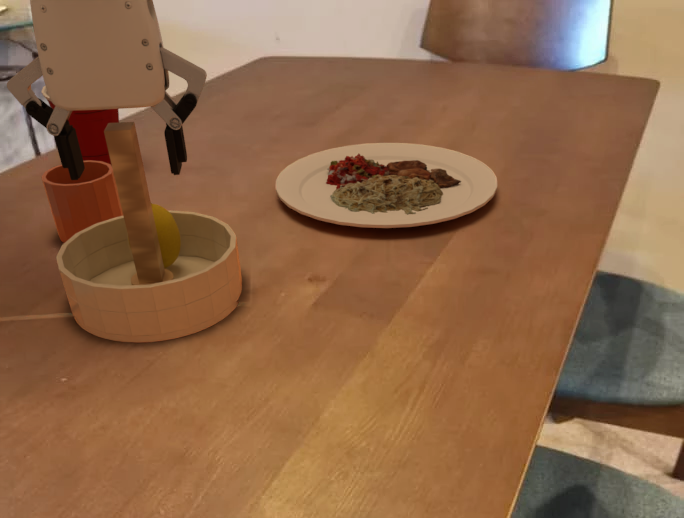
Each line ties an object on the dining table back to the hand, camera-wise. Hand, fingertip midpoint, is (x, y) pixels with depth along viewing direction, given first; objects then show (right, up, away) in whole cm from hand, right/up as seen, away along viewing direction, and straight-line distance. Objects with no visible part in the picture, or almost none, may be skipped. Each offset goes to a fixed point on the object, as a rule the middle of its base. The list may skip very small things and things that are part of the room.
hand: (127, 172), depth 68 cm
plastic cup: (-16, +16, +40) cm, 46 cm away
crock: (-11, +1, +23) cm, 25 cm away
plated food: (+26, +9, +31) cm, 42 cm away
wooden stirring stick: (0, -10, +9) cm, 13 cm away
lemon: (0, -6, +13) cm, 15 cm away
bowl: (0, -10, +10) cm, 14 cm away
